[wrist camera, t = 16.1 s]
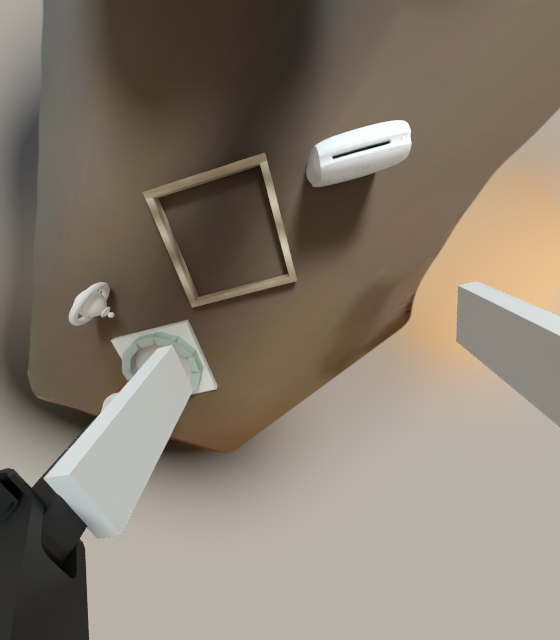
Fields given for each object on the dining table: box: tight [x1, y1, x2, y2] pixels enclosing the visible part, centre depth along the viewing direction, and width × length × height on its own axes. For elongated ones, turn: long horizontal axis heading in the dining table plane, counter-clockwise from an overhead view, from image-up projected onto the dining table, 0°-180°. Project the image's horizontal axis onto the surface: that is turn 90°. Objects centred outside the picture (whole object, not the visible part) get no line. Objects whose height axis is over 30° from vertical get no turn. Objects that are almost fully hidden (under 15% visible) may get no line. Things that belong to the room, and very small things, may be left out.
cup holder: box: [111, 320, 217, 394], centre depth 50 cm, size 15×15×3 cm
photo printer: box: [306, 120, 411, 187], centre depth 31 cm, size 10×4×12 cm, turn 103°
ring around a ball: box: [69, 282, 114, 326], centre depth 42 cm, size 8×6×8 cm
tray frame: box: [143, 153, 297, 307], centre depth 40 cm, size 18×18×2 cm
